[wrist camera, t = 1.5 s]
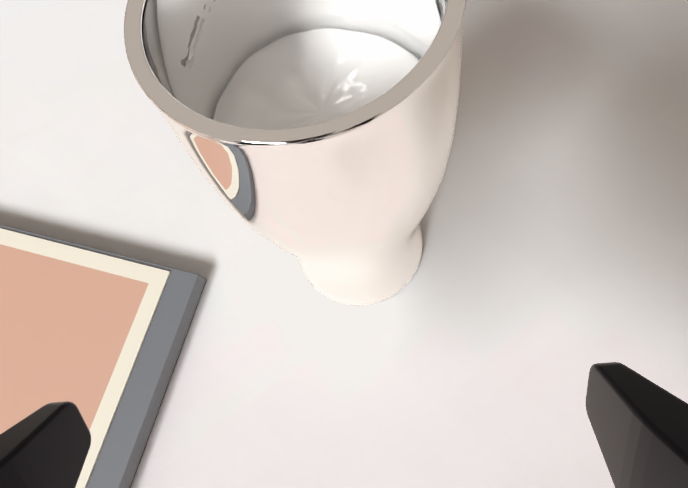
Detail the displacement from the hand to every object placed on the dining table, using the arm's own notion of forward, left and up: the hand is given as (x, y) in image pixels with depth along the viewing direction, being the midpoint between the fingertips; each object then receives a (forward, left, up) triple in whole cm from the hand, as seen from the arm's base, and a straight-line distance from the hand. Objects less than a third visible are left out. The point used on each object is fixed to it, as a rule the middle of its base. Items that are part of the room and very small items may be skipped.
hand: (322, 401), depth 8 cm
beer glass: (+2, -7, -13) cm, 15 cm away
